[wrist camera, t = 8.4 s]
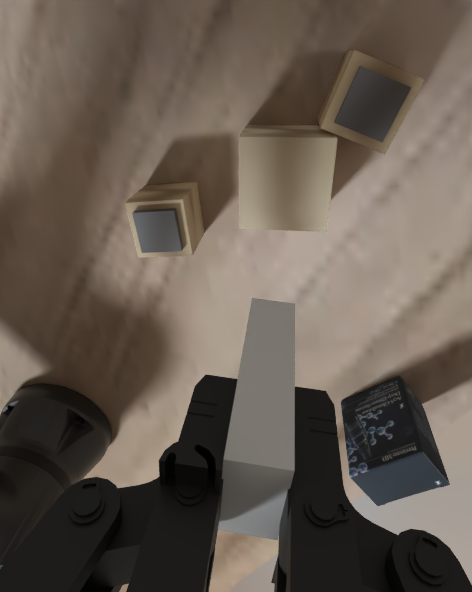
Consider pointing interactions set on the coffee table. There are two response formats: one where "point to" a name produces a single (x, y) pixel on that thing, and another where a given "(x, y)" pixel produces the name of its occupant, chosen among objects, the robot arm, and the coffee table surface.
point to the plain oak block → (285, 177)
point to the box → (391, 443)
